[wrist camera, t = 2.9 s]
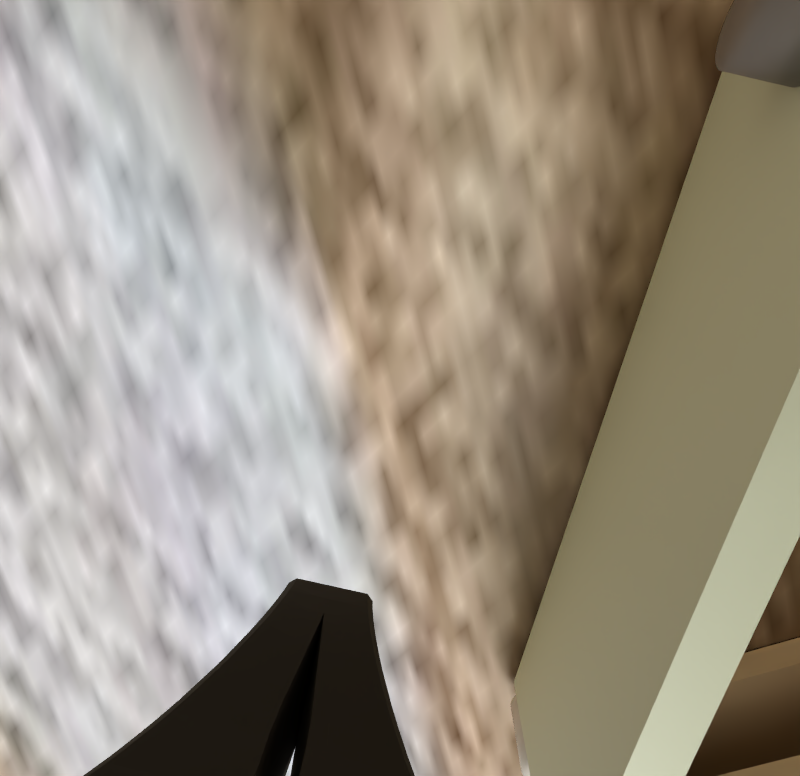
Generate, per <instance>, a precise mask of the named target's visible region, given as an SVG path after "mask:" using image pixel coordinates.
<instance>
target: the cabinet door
mask: <svg viewBox="0 0 800 776" xmlns="http://www.w3.org/2000/svg"><path fill="white" fill-rule="evenodd" d="M715 62H716V67H717V69H718V70H719V71H722V73H721V76H720V79H719V82H718V85H717V88H716V91H715V93H714V96H713V99H712V102H711V105H710V108H709V111H708V114H707V117H706V120H705V123H704V126H703V129H702V132H701V135H700V137H699V140H698V143H697V146H696V149H695V152H694V155H693V158H692V161H691V164H690V167H689V170H688V173H687V176H686V179H685V181H684V184H683V187H682V190H681V193H680V196H679V199H678V202H677V205H676V208H675V211H674V214H673V217H672V220H671V222H670V225H669V228H668V231H667V234H666V237H665V240H664V243H663V246H662V249H661V252H660V255H659V258H658V261H657V264H656V266H655V269H654V272H653V275H652V278H651V281H650V284H649V287H648V290H647V293H646V296H645V299H644V302H643V305H642V308H641V310H640V313H639V316H638V319H637V322H636V325H635V328H634V331H633V334H632V337H631V340H630V343H629V346H628V349H627V351H626V354H625V357H624V360H623V363H622V366H621V369H620V372H619V375H618V378H617V381H616V384H615V387H614V390H613V393H612V395H611V398H610V401H609V404H608V407H607V410H606V413H605V416H604V419H603V422H602V425H601V428H600V431H599V434H598V437H597V439H596V442H595V445H594V448H593V451H592V454H591V457H590V460H589V463H588V466H587V469H586V472H585V475H584V478H583V480H582V483H581V486H580V489H579V492H578V495H577V498H576V501H575V504H574V507H573V510H572V513H571V516H570V519H569V522H568V524H567V527H566V530H565V533H564V536H563V539H562V542H561V545H560V548H559V551H558V554H557V557H556V560H555V563H554V566H553V568H552V571H551V574H550V577H549V580H548V583H547V586H546V589H545V592H544V595H543V598H542V601H541V604H540V607H539V609H538V612H537V615H536V618H535V621H534V624H533V627H532V630H531V633H530V636H529V639H528V642H527V645H526V648H525V651H524V653H523V656H522V659H521V662H520V665H519V668H518V671H517V674H516V677H515V680H514V687H515V693H516V696H514V698H513V699H512V701H511V711H512V717H513V723H514V729H515V735H516V741H517V747H518V753H519V759H520V765H521V771H522V774H523V776H686V774H687V772H688V770H689V768H690V766H691V764H692V761H693V759H694V757H695V755H696V753H697V751H698V749H699V747H700V745H701V743H702V740H703V738H704V736H705V734H706V732H707V730H708V728H709V726H710V724H711V722H712V719H713V717H714V715H715V713H716V711H717V709H718V707H719V705H720V703H721V700H722V698H723V696H724V694H725V692H726V690H727V688H728V686H729V684H730V682H731V679H732V677H733V675H734V673H735V671H736V669H737V667H738V665H739V663H740V661H741V658H742V656H743V654H744V652H745V650H746V648H747V646H748V644H749V642H750V639H751V637H752V635H753V633H754V631H755V629H756V627H757V625H758V623H759V621H760V618H761V616H762V614H763V612H764V610H765V608H766V606H767V604H768V602H769V600H770V597H771V595H772V593H773V591H774V589H775V587H776V585H777V583H778V581H779V578H780V576H781V574H782V572H783V570H784V568H785V566H786V564H787V562H788V560H789V557H790V555H791V553H792V551H793V549H794V547H795V545H796V543H797V541H798V539H799V536H800V0H734V1H733V3H732V6H731V8H730V10H729V12H728V14H727V17H726V19H725V22H724V24H723V27H722V30H721V33H720V36H719V40H718V44H717V48H716V56H715Z"/></svg>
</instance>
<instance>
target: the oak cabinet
mask: <svg viewBox="0 0 800 776" xmlns="http://www.w3.org/2000/svg"><path fill="white" fill-rule="evenodd" d="M686 776H800V637H799V638H796V639H792V640H789V641H785V642H781V643H778V644H774V645H771V646H767V647H764V648H760V649H756V650H753V651H749V652H746V653H744V654H743V656H742V658H741V661H740V663H739V665H738V667H737V669H736V671H735V673H734V675H733V677H732V679H731V682H730V684H729V686H728V688H727V690H726V692H725V694H724V696H723V698H722V700H721V703H720V705H719V707H718V709H717V711H716V713H715V715H714V717H713V719H712V722H711V724H710V726H709V728H708V730H707V732H706V734H705V736H704V738H703V740H702V743H701V745H700V747H699V749H698V751H697V753H696V755H695V757H694V759H693V761H692V764H691V766H690V768H689V770H688V772H687V774H686Z"/></svg>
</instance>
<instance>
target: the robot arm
mask: <svg viewBox="0 0 800 776" xmlns="http://www.w3.org/2000/svg"><path fill="white" fill-rule="evenodd" d="M372 602H373V601H372V600H371V598H370V597H369V595H368V594H365V593H360V592H356V591H351V590H347V589H342V588H338V587H333V586H329V585H324V584H320V583H315V582H311V581H306V580H302V579H295V580H293V581H291V582H290V583H289V584H288V585H287V587H286V588H285V590H284V591H283V592H282V594H281V595H280V596H279V598H278V599H277V600H276V602H275V603H274V604H273V605H272V606H271V608H270V609H269V610H268V611H267V612H266V614H265V615H264V616H263V617H262V618H261V619H260V620H259V622H258V623H257V624H256V625H255V626H254V627H253V628H252V629H251V631H250V632H249V633H248V634H247V635H246V636H245V637H244V638H243V639H242V640H241V641H240V642H239V643H238V644H237V645H236V646H235V647H234V648H233V649H232V650H231V651H230V652H229V653H228V655H227V656H226V657H225V658H224V659H223V660H222V661H221V662H220V663H219V664H218V665H217V666H215V667H214V668H213V669H212V670H211V671H210V672H209V673H208V674H207V675H206V676H205V677H204V678H203V679H201V680H200V681H199V682H198V683H197V684H196V685H195V686H194V687H193V688H192V689H191V690H190V691H188V692H187V693H186V694H185V695H184V696H183V697H182V698H181V699H180V700H179V701H178V702H176V703H175V704H174V705H173V706H172V707H171V708H169V709H168V710H167V711H166V712H165V713H164V714H162V715H161V716H160V717H159V718H158V719H157V720H155V721H154V722H153V723H152V724H150V725H149V726H148V727H147V728H146V729H144V730H143V731H142V732H141V733H139V734H138V735H137V736H136V737H134V738H133V739H132V740H130V741H129V742H128V743H127V744H125V745H124V746H123V747H122V748H120V749H119V750H118V751H116V752H115V753H114V754H113V755H111V756H110V757H109V758H107V759H106V760H104V761H103V762H102V763H100V764H99V765H98V766H96V767H95V768H93V769H92V770H91V771H89V772H88V773H87V774H85V775H84V776H285V775H286V772H287V769H288V767H289V764H290V761H291V758H292V755H293V752H294V749H295V753H294V759H293V765H292V771H291V776H415V775H414V773H413V770H412V767H411V764H410V762H409V759H408V756H407V753H406V750H405V747H404V744H403V741H402V738H401V735H400V732H399V729H398V726H397V722H396V719H395V716H394V712H393V709H392V706H391V702H390V698H389V694H388V690H387V686H386V683H385V679H384V675H383V671H382V667H381V662H380V658H379V653H378V647H377V642H376V636H375V630H374V622H373V610H372Z"/></svg>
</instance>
